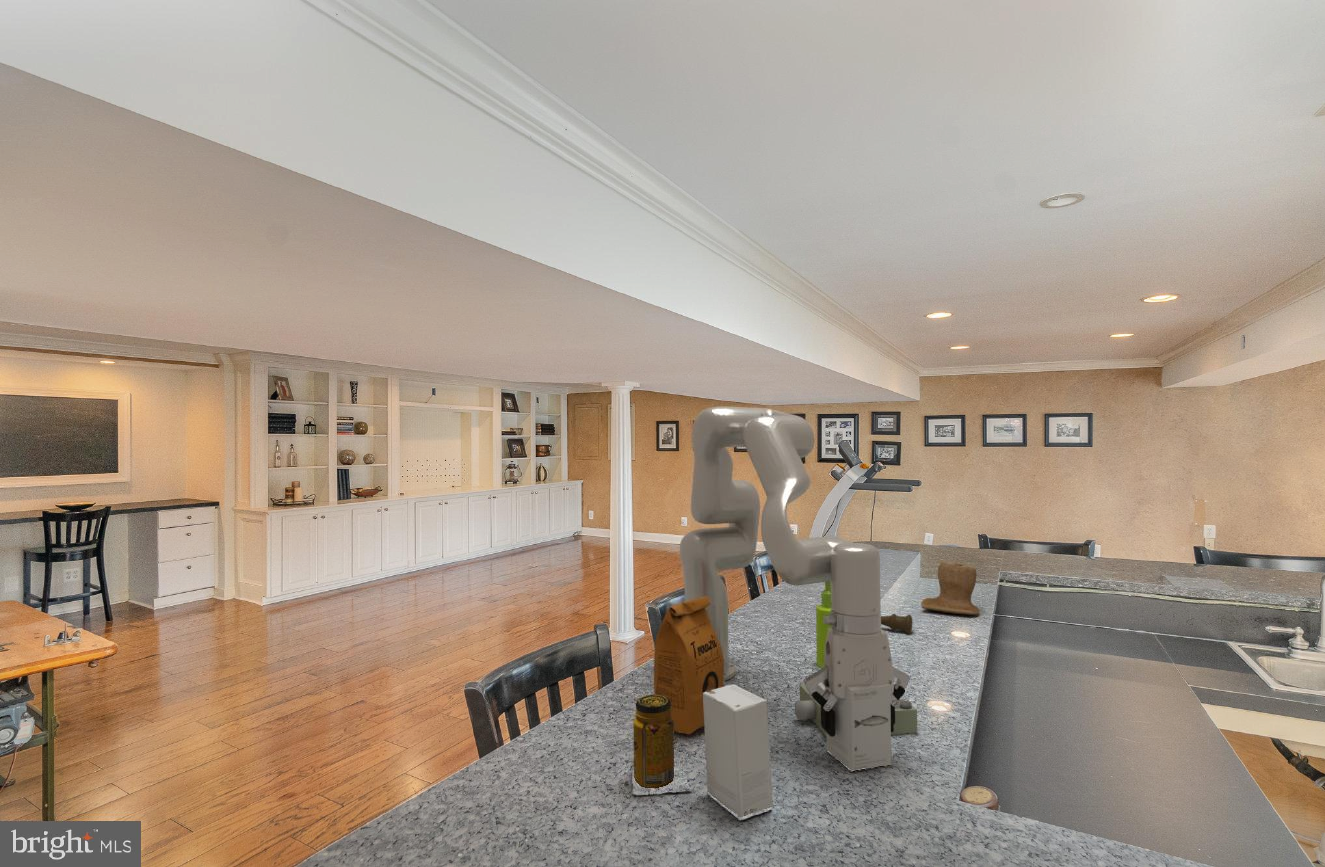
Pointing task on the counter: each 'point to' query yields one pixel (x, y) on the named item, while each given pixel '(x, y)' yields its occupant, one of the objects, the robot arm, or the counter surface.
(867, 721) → the supplement box
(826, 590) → the soap dispenser
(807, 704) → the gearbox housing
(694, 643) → the coffee package
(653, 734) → the condiment
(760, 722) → the skincare box
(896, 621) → the kendama
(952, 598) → the brown boot
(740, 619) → the counter surface
